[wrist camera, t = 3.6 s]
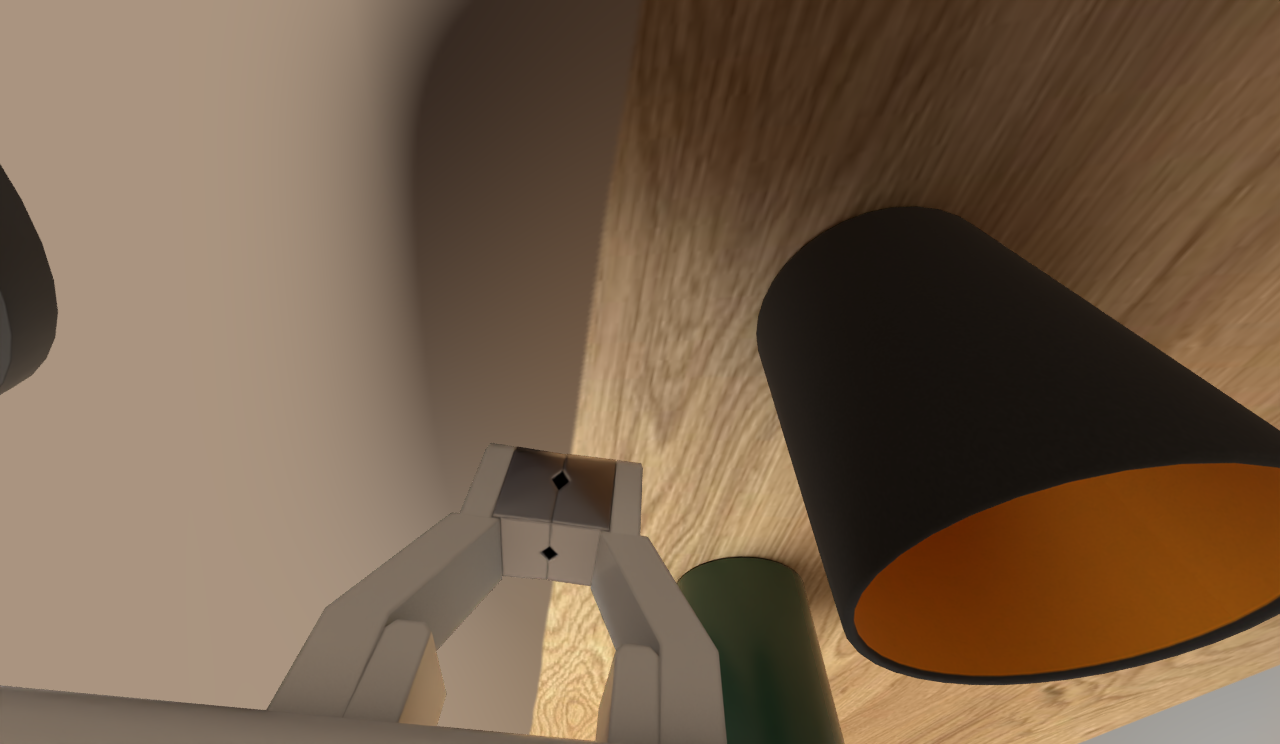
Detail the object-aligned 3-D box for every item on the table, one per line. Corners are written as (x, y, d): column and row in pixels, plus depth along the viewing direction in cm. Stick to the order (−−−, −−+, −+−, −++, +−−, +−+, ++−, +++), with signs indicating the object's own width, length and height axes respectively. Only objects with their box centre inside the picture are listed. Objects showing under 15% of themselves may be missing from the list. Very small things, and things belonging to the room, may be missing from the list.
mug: (990, 432, 20) (1216, 716, 12) (726, 385, 19) (779, 665, 11) (1155, 258, 15) (1728, 538, 7) (811, 178, 14) (1026, 408, 6)
